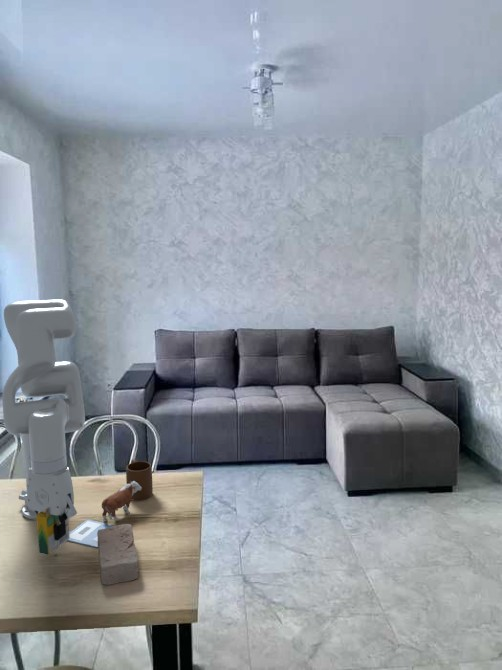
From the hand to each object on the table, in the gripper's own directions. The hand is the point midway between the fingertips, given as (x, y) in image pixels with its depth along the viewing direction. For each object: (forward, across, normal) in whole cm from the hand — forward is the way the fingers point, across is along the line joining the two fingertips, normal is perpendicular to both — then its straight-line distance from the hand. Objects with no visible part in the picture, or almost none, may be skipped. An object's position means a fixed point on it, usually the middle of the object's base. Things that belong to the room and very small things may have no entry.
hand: (54, 534), depth 119 cm
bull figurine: (+8, +2, +24) cm, 25 cm away
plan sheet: (+7, +2, +13) cm, 15 cm away
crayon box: (+3, 0, 0) cm, 3 cm away
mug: (+8, -1, +37) cm, 38 cm away
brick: (+7, +14, +5) cm, 16 cm away
